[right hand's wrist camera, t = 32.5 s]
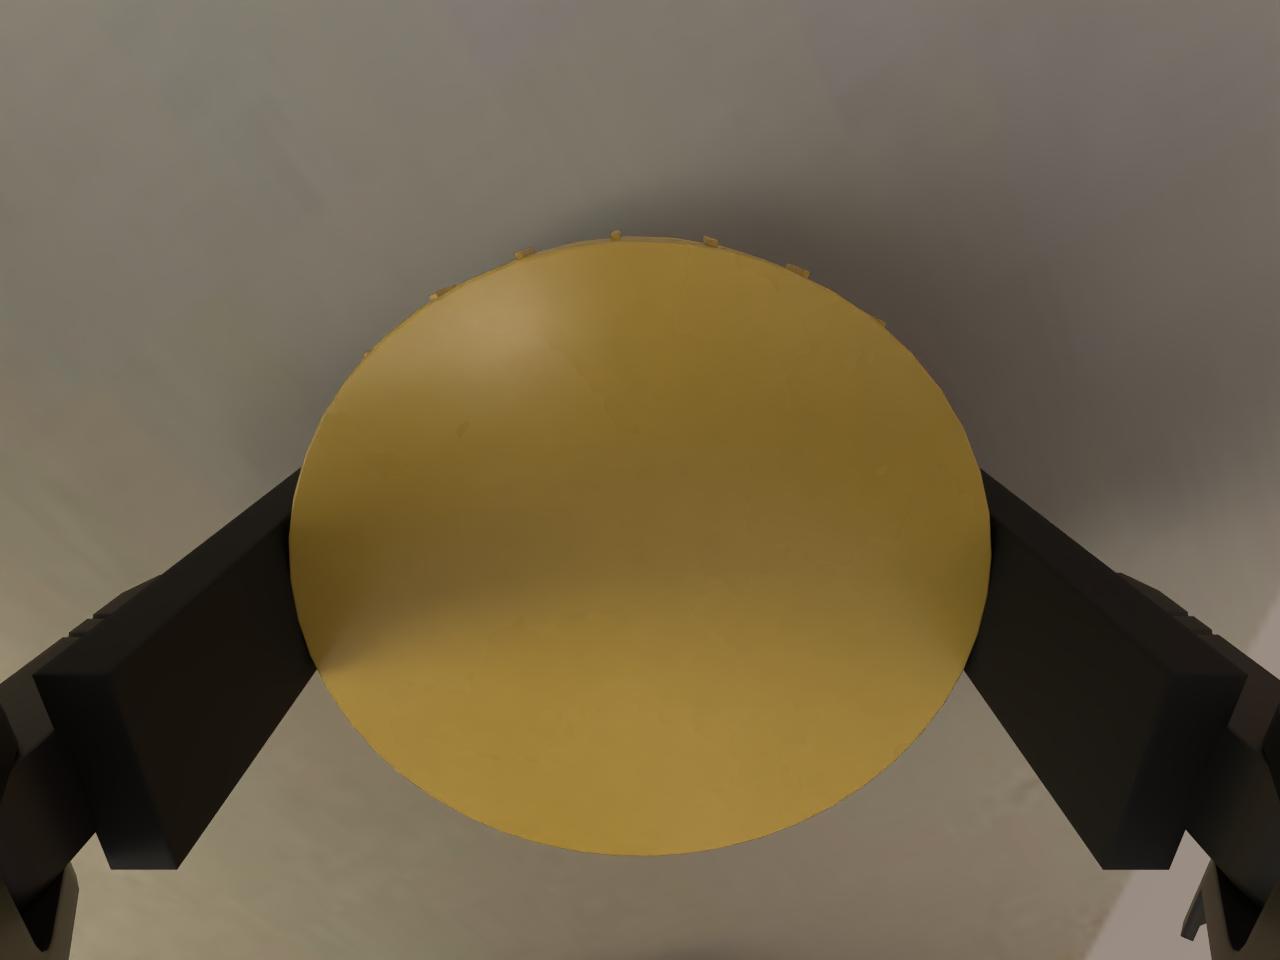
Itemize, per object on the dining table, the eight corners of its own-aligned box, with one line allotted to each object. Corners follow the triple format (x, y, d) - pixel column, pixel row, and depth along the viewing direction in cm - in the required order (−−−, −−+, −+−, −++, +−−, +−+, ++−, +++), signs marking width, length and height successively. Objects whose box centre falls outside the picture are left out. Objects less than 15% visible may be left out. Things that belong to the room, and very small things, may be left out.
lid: (894, 125, 9) (941, 110, 8) (985, 719, 13) (1028, 783, 12) (207, 355, 11) (137, 379, 9) (474, 839, 14) (455, 910, 13)
